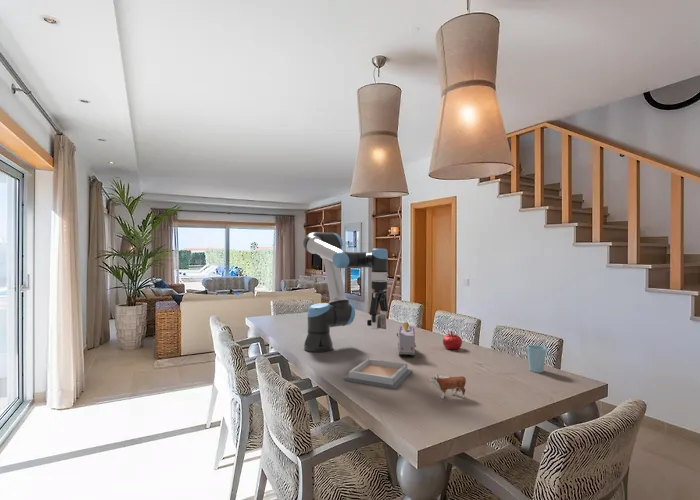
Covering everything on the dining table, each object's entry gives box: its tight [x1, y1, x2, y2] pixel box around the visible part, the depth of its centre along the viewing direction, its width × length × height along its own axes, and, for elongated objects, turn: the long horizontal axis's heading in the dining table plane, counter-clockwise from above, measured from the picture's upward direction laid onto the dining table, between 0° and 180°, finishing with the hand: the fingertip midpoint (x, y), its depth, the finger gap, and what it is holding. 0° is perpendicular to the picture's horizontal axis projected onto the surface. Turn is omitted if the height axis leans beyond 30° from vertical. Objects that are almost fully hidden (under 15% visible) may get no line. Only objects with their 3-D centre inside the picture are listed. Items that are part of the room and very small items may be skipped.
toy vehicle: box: [396, 321, 417, 357], centre depth 194 cm, size 9×20×15 cm, turn 174°
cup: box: [526, 344, 547, 374], centre depth 168 cm, size 8×8×10 cm
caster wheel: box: [366, 314, 387, 330], centre depth 181 cm, size 7×11×10 cm
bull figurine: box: [428, 373, 466, 400], centre depth 136 cm, size 4×13×8 cm, turn 94°
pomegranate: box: [442, 330, 463, 350], centre depth 204 cm, size 10×10×9 cm
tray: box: [343, 358, 413, 390], centre depth 158 cm, size 22×22×4 cm
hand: (378, 326), depth 180 cm, fingers closed on caster wheel, 11 cm apart
